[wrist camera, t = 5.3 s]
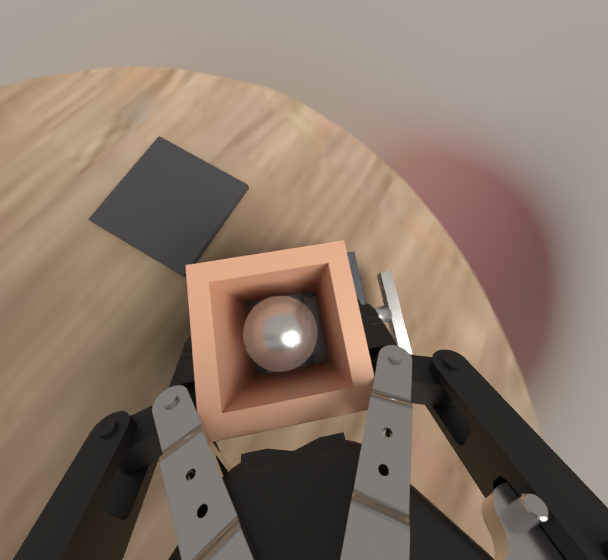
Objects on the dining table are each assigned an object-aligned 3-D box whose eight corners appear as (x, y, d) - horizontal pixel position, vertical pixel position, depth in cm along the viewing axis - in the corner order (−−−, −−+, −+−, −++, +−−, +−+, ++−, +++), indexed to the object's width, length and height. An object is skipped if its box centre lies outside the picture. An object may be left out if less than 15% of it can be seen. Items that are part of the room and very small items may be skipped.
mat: (93, 221, 21) (88, 219, 21) (162, 140, 23) (159, 136, 23) (185, 277, 21) (183, 275, 20) (248, 188, 23) (247, 184, 22)
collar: (244, 391, 15) (199, 444, 8) (232, 293, 16) (185, 265, 9) (342, 372, 15) (380, 406, 8) (323, 277, 16) (344, 240, 9)
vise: (216, 418, 18) (116, 529, 8) (203, 280, 21) (111, 230, 10) (400, 381, 19) (517, 438, 9) (369, 253, 22) (436, 184, 11)
